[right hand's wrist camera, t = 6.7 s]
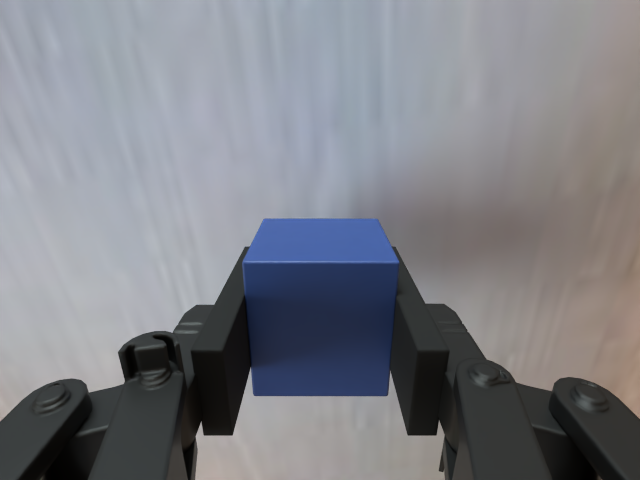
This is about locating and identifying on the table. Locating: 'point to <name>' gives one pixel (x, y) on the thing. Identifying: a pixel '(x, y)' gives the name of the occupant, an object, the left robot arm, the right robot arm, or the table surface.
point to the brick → (320, 307)
